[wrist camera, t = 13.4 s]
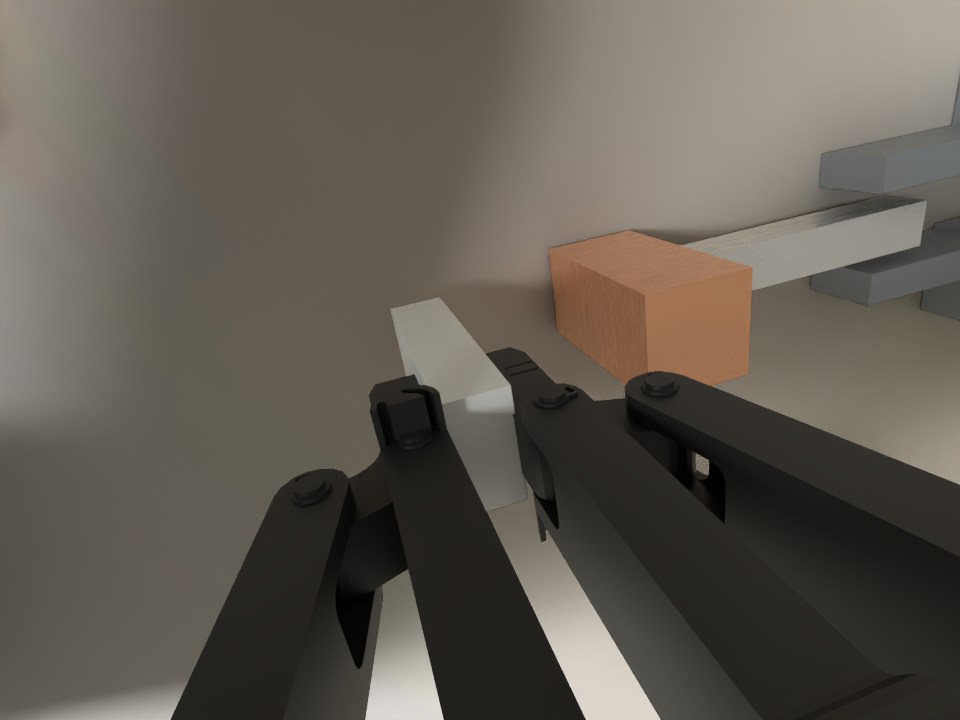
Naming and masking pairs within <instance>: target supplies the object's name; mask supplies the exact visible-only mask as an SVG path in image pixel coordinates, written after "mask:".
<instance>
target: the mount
mask: <svg viewBox="0 0 960 720" xmlns="http://www.w3.org/2000/svg"><path fill="white" fill-rule="evenodd" d="M958 175H960V80H959V86H958V92H957V98H956V104H955V109H954V115H953V121H952V125H949V126H944V127H940V128H935V129H931V130H926V131H922V132H917V133H913V134H908V135H904V136H899V137H895V138H890V139H886V140H881V141H877V142H872V143H867V144H863V145H858V146H854V147H849V148H845V149H840V150H836V151H831V152H827V153H822V160H821V172H820V183H819V187H822V188H832V189H841V190H851V191H860V192H870V193H879V194H884V193H888V192H892V191H896V190H900V189H904V188H908V187H913V186H917V185H921V184H925V183H929V182H933V181H937V180H941V179H945V178H950V177H954V176H958ZM811 289H813V290H816V291H819V292H823V293H826V294H829V295H832V296H836V297H839V298H842V299H845V300H848V301H852V302H855V303H858V304H861V305H865V306H871V305H874V304H878V303H881V302H885V301H888V300H892V299H895V298H899V297H902V296H906V295H909V294H913V293H916V292H920V291H923V296H922V302H921V308H920V309H921V310H924V311H928V312H931V313H935V314H938V315H942V316H945V317H949V318H952V319H956V320H959V321H960V217H957V218H953V219H949V220H945V221H942V222H938V223H935V226H934V228H932V229H929V230H925V231H922V236H921V242H920V246H917V247H913V248H910V249H906V250H902V251H898V252H895V253H891V254H887V255H884V256H880V257H876V258H872V259H869V260H865V261H861V262H858V263H854V264H850V265H846V266H843V267H839V268H835V269H831V270H828V271H824V272H820V273H817V274H813V275H812V277H811Z"/></svg>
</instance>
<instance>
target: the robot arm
mask: <svg viewBox="0 0 960 720" xmlns="http://www.w3.org/2000/svg"><path fill="white" fill-rule="evenodd" d="M390 311H391V315H392V319H393V323H394V328H395V332H396V336H397V340H398V344H399V349H400V353H401V357H402V361H403V365H404V370H405V374H406V377H402V378H398V379H394V380H390V381H387V382H383V383H379V384H375V386H374V388H373V389H372V391H371V393H370V394H369V398H370V402H371V408H370V414H371V417H372V421H373V424H374V428H375V432H376V435H377V439H378V443H379V446H380V450H381V451H380V454H379V456H378V458H377V459H376V460H375V461H374V463H373V464H372V465H370V466H369V467H368V468H367V469H366V470H364V471H362V472H361V473H359V474H357V475H355V476H353V477H351V478H349V479H348V477H347V476H346V475H345V474H344V473H343V472H342V471H339V470H335V469H318V470H315V471H311V472H306V473H303V474H301V475H299V476H297V477H295V478H293V479H292V480H290V481H289V482H288V483H287V484H285V485H284V486H283V487H281V488H280V490H279V491H278V492H277V494H276V495H275V496H274V498H273V500H272V502H271V505H270V507H269V509H268V511H267V513H266V515H265V517H264V520H263V522H262V524H261V526H260V528H259V530H258V533H257V535H256V537H255V539H254V541H253V543H252V545H251V548H250V550H249V552H248V554H247V556H246V558H245V561H244V563H243V565H242V567H241V569H240V571H239V574H238V576H237V578H236V580H235V582H234V584H233V586H232V589H231V591H230V593H229V595H228V597H227V599H226V602H225V604H224V606H223V608H222V610H221V612H220V614H219V617H218V619H217V621H216V623H215V625H214V627H213V630H212V632H211V634H210V636H209V638H208V640H207V642H206V645H205V647H204V649H203V651H202V653H201V655H200V658H199V660H198V662H197V664H196V666H195V668H194V670H193V673H192V675H191V677H190V679H189V681H188V683H187V686H186V688H185V690H184V692H183V694H182V696H181V699H180V701H179V703H178V705H177V707H176V709H175V711H174V714H173V716H172V718H171V720H365V717H366V710H367V703H368V696H369V690H370V683H371V676H372V669H373V662H374V655H375V649H376V642H377V635H378V628H379V621H380V614H381V608H382V601H383V591H382V585H383V584H384V583H386V582H388V581H389V580H391V579H392V578H394V577H396V576H397V575H399V574H400V573H402V572H404V571H405V570H407V569H409V573H410V578H411V582H412V586H413V590H414V595H415V599H416V603H417V607H418V612H419V616H420V620H421V624H422V629H423V633H424V637H425V641H426V646H427V650H428V654H429V658H430V663H431V667H432V671H433V675H434V680H435V684H436V688H437V693H438V697H439V701H440V705H441V710H442V714H443V718H444V720H586V719H585V717H584V715H583V713H582V711H581V709H580V707H579V705H578V702H577V700H576V698H575V696H574V694H573V692H572V690H571V688H570V686H569V684H568V682H567V679H566V677H565V675H564V673H563V671H562V669H561V667H560V665H559V663H558V661H557V658H556V656H555V654H554V652H553V650H552V648H551V646H550V644H549V642H548V640H547V637H546V635H545V633H544V631H543V629H542V627H541V625H540V623H539V621H538V619H537V617H536V614H535V612H534V610H533V608H532V606H531V604H530V602H529V600H528V598H527V596H526V593H525V591H524V589H523V587H522V585H521V583H520V581H519V579H518V577H517V575H516V573H515V570H514V568H513V566H512V564H511V562H510V560H509V558H508V556H507V554H506V552H505V549H504V547H503V545H502V543H501V541H500V539H499V537H498V535H497V533H496V531H495V529H494V526H493V524H492V522H491V520H490V518H489V516H488V514H487V512H488V511H491V510H495V509H498V508H501V507H504V506H507V505H510V504H513V503H516V502H520V501H523V500H526V499H528V494H527V487H526V481H525V478H526V480H527V482H528V483H529V485H530V486H531V488H532V489H533V495H534V501H535V508H536V515H537V521H538V528H539V534H540V538H541V542H543V541H546V534H545V531H546V529H547V530H548V532H549V533H550V535H551V537H552V538H553V540H554V542H555V544H556V545H557V547H558V549H559V550H560V552H561V554H562V555H563V557H564V559H565V560H566V562H567V564H568V565H569V567H570V569H571V570H572V572H573V574H574V575H575V577H576V579H577V580H578V582H579V584H580V585H581V587H582V589H583V590H584V592H585V594H586V595H587V597H588V599H589V600H590V602H591V604H592V605H593V607H594V609H595V610H596V612H597V614H598V615H599V617H600V619H601V620H602V622H603V624H604V625H605V627H606V629H607V630H608V632H609V634H610V635H611V637H612V639H613V640H614V642H615V644H616V645H617V647H618V649H619V650H620V652H621V654H622V655H623V657H624V659H625V660H626V662H627V664H628V665H629V667H630V669H631V670H632V672H633V674H634V675H635V677H636V679H637V680H638V682H639V684H640V685H641V687H642V689H643V690H644V692H645V694H646V695H647V697H648V699H649V700H650V702H651V704H652V705H653V707H654V709H655V710H656V712H657V714H658V715H659V717H660V719H661V720H960V485H959V484H956V483H954V482H951V481H949V480H946V479H944V478H941V477H939V476H936V475H933V474H931V473H928V472H926V471H923V470H921V469H918V468H916V467H913V466H911V465H908V464H906V463H903V462H901V461H898V460H896V459H893V458H891V457H888V456H886V455H883V454H881V453H878V452H875V451H873V450H870V449H868V448H865V447H863V446H860V445H858V444H855V443H853V442H850V441H848V440H845V439H843V438H840V437H838V436H835V435H833V434H830V433H828V432H825V431H823V430H820V429H817V428H815V427H812V426H810V425H807V424H805V423H802V422H800V421H797V420H795V419H792V418H790V417H787V416H785V415H782V414H780V413H777V412H775V411H772V410H770V409H767V408H765V407H762V406H759V405H757V404H754V403H752V402H749V401H747V400H744V399H742V398H739V397H737V396H734V395H732V394H729V393H727V392H724V391H722V390H719V389H717V388H714V387H712V386H709V385H707V384H704V383H701V382H699V381H696V380H694V379H691V378H689V377H686V376H684V375H680V374H676V373H672V372H663V371H654V372H647V373H645V374H641V375H638V376H635V377H634V378H632V379H631V380H629V381H628V382H627V384H626V386H625V398H623V399H613V400H603V401H593V400H592V399H591V398H590V397H589V396H588V395H587V394H586V393H585V392H584V391H583V390H581V389H579V388H577V387H576V386H572V385H568V384H555V383H554V382H553V381H552V380H551V379H550V378H549V377H548V376H547V375H546V373H545V372H544V371H543V370H542V369H541V368H540V369H539V366H538V365H537V364H536V363H535V362H533V361H532V359H531V358H530V357H529V356H528V355H527V354H526V353H525V352H522V351H519V350H516V349H513V348H511V347H509V348H506V349H502V350H498V351H494V352H491V353H487V354H485V353H484V351H483V350H482V349H481V348H480V346H479V345H478V344H477V343H476V342H475V340H474V339H473V338H472V337H471V335H470V334H469V333H468V332H467V330H466V329H465V328H464V327H463V325H462V324H461V323H460V322H459V320H458V319H457V318H456V317H455V315H454V314H453V313H452V312H451V310H450V309H449V308H448V307H447V306H446V304H445V303H444V302H443V301H442V299H441V298H440V297H438V298H433V299H429V300H425V301H421V302H417V303H413V304H408V305H404V306H400V307H396V308H392V309H390ZM696 453H697V454H698V455H700V456H702V457H704V458H706V459H708V460H709V475H705V474H702V473H700V472H699V471H697V470H696Z"/></svg>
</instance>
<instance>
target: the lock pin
mask: <svg viewBox="0 0 960 720" xmlns="http://www.w3.org/2000/svg"><path fill="white" fill-rule="evenodd" d="M926 205H927V200H922V199H913V198H903V197H894V196H881V197H877V198H873V199H869V200H864V201H860V202H856V203H852V204H848V205H844V206H840V207H836V208H832V209H828V210H823V211H819V212H815V213H811V214H807V215H803V216H799V217H795V218H791V219H787V220H782V221H778V222H774V223H770V224H766V225H762V226H758V227H754V228H750V229H746V230H741V231H737V232H733V233H729V234H725V235H721V236H717V237H713V238H709V239H705V240H700V241H696V242H692V243H688V244H684V245H677V244H674V243H671V242H667V241H664V240H661V239H657V238H654V237H651V236H647V235H644V234H641V233H637V232H634V231H631V230H628V231H624V232H620V233H615V234H611V235H607V236H603V237H598V238H594V239H590V240H585V241H581V242H577V243H573V244H568V245H564V246H560V247H556V248H551V249H549V256H550V265H551V274H552V283H553V292H554V301H555V310H556V319H557V328H558V332H559V333H560V334H561V335H563V336H564V337H565V338H566V339H568V340H569V341H570V342H571V343H573V344H574V345H575V346H576V347H578V348H579V349H580V350H581V351H583V352H584V353H585V354H587V355H588V356H589V357H590V358H592V359H593V360H594V361H595V362H597V363H598V364H599V365H600V366H602V367H603V368H604V369H606V370H607V371H608V372H609V373H611V374H612V375H613V376H614V377H616V378H617V379H618V380H619V381H621V382H622V383H623V384H625V385H626V384H627V382H628V381H629V380H631V379H632V378H634V377H635V376H638V375H641V374H645V373H647V372H654V371H663V372H672V373H676V374H680V375H684V376H686V377H689V378H691V379H694V380H696V381H699V382H701V383H704V384H707V385H709V386H711V385H715V384H718V383H721V382H725V381H728V380H731V379H735V378H738V377H741V376H745V375H748V372H749V347H750V323H751V298H752V291H753V290H757V289H761V288H764V287H768V286H772V285H776V284H779V283H783V282H787V281H790V280H794V279H798V278H802V277H805V276H809V275H813V274H817V273H820V272H824V271H828V270H831V269H835V268H839V267H843V266H846V265H850V264H854V263H858V262H861V261H865V260H869V259H872V258H876V257H880V256H884V255H887V254H891V253H895V252H898V251H902V250H906V249H910V248H913V247H917V246H920V242H921V236H922V230H923V224H924V218H925V212H926Z"/></svg>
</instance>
